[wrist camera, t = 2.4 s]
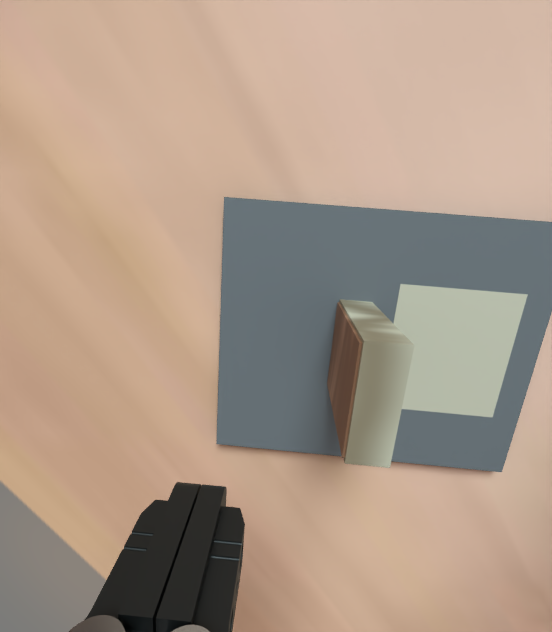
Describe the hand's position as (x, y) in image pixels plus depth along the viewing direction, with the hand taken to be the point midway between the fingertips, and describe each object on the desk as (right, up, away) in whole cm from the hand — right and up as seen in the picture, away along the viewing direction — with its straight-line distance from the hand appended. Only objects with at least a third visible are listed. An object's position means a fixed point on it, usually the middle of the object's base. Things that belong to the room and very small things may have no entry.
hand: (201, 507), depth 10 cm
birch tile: (+8, +4, +15) cm, 18 cm away
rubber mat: (+10, +4, +16) cm, 19 cm away
